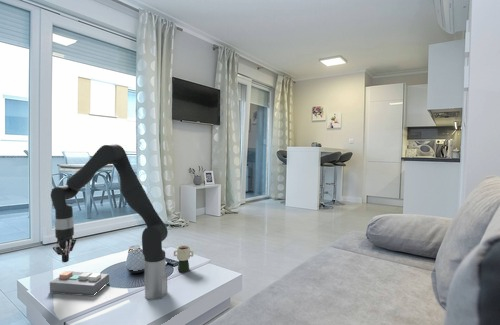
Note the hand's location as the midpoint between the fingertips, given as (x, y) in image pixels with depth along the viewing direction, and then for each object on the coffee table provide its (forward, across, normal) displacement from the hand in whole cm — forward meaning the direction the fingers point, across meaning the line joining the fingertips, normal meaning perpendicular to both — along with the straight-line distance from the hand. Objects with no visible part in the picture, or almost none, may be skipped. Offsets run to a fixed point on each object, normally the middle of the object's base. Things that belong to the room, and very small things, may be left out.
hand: (65, 261), depth 141 cm
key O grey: (+10, 0, -10) cm, 14 cm away
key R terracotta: (+10, 0, 0) cm, 10 cm away
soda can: (+13, +25, -22) cm, 36 cm away
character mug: (+13, +26, -50) cm, 58 cm away
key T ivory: (+10, 0, -15) cm, 18 cm away
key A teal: (+11, 0, -5) cm, 12 cm away
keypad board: (+13, 0, -8) cm, 15 cm away
